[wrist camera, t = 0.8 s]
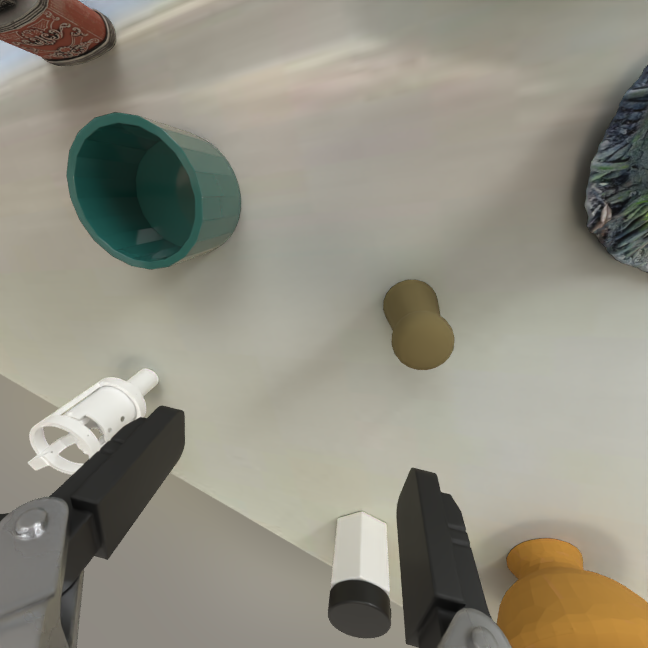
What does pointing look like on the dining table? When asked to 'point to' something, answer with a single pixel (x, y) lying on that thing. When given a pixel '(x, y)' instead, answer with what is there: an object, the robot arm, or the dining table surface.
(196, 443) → the dining table surface
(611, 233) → the tree stump
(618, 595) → the decorative bowl
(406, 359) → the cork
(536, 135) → the dining table surface
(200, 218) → the ceramic cup
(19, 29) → the lighter
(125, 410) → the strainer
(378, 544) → the jar
